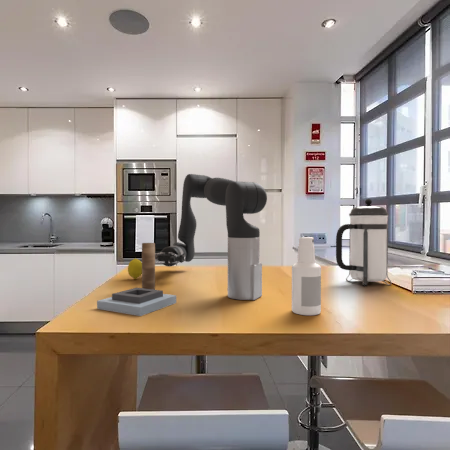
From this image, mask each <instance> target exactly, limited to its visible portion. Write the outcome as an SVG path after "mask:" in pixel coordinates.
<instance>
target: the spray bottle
mask: <svg viewBox="0 0 450 450" xmlns="http://www.w3.org/2000/svg"><path fill="white" fill-rule="evenodd" d="M314 239H315V238H314V237H311V236H310V237H309V236H303V237H300V236H299V239H298V246H297V250H298V251H297V262H295V263H294V264H293V265H291V311H292V313H294V314H297V315H301V316H317V315H320V314H321V312H322V311H321V310H322V267H321V265H320V264H318V263H316V251H315V242H314Z"/></svg>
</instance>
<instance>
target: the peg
mask: <svg viewBox="0 0 450 450" xmlns="http://www.w3.org/2000/svg"><path fill="white" fill-rule="evenodd" d="M155 253H156V243H155V242H142V243H141V262H142V274H141V288H144V289H153V290H156V263H155Z"/></svg>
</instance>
